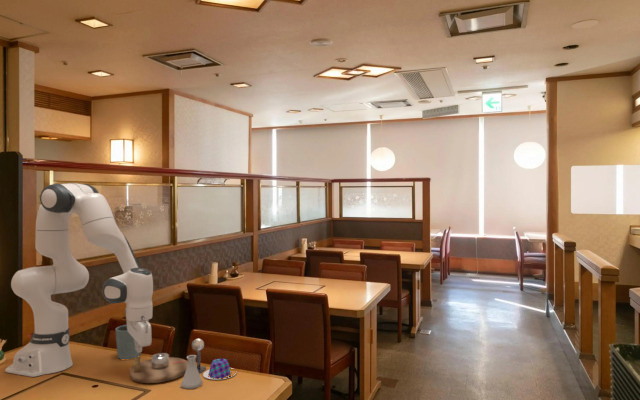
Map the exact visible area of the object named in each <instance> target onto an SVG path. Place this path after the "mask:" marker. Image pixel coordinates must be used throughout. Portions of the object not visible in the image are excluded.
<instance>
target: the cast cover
mask: <svg viewBox="0 0 640 400" xmlns="http://www.w3.org/2000/svg"><path fill="white" fill-rule="evenodd" d="M169 357H170V354H168V353H167V352H158V353H154V354H152V355H151V358H150V359H151V368H152V369H154V370H160V369H165V368H167V367H168V366H169Z"/></svg>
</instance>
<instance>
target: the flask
mask: <svg viewBox="0 0 640 400" xmlns="http://www.w3.org/2000/svg"><path fill="white" fill-rule="evenodd" d="M186 359H187V362H188V364H187V369H186V372H185V374H184V375H183V379H182V380H181V384H180V388H182V389H186V390H189V389H190V390H192V389H197V388H199V387H201V386H202V384H203V379H202V377H201V375H200V373H199V372H198V369H197V354H196V355H195V354H189V355H187V356H186Z"/></svg>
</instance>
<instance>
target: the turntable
mask: <svg viewBox="0 0 640 400" xmlns="http://www.w3.org/2000/svg"><path fill="white" fill-rule="evenodd" d="M187 364H188V360H186V359H184V358H180V357H173V356H172V357H171V356H169V366H168V367H167V368H165V369H160V370H154V369H152V368H151V358H149V359H146V360H143V361H141V357H140V356H139V357H135V358H134V359H133V365H132V367H130V369H129V377H130V379H131V380H132V381H134V382H137V383H143V384H145V383H146V384H154V383H163V382H168V381H172V380H175V379H177V378H181V377H182V376H184V375H185V372H186V369H187Z"/></svg>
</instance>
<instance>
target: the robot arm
mask: <svg viewBox="0 0 640 400" xmlns="http://www.w3.org/2000/svg"><path fill="white" fill-rule="evenodd" d="M39 201H40V205H39V207H38V209H37V214H36V220H35V241H34V242H35V250H36V252H37V253H38V254H39V255H41V256H44V257H46V258H49V259H52V263H53V264H52V265H43V266H42V265H41V266H32V267H26V268H23V269H20V270H17V271H16V272H15V273H14V275H13V276H12V278H11V281H10V288H11V290H12V291H13V293H14V295H16V296H18V297H19V298H22V299H23V300H25V302H27V304H28V305H29V306H30V308H31V310H32V312H33V320H34V331H33V332H32V333H29V334H27V338H28V339H29V338H30V341H29V342H28V343H27V344H26V345H25V346H23V347H22V348H21V349H19V350H18V351H17V352H15V354H14V357H13V362H12V364H10V365H9V366H7V367H6V368H5V373H7V374H8V373H10V374H14V375H20V376H25V377H30V378H34V377H35V378H36V377H39V376H43V375H49V374H53V373H58V372H61V371H64V370H67V369H70V368H71V367H72V366H73V365H74V363H73V359H72V355H71V351H70V343H69V342H70V327H69V310H68V308H67V306H66V305H64V304H62V303H59V302H56V301H52V295H57V294H58V295H59V294H64V293H72V292H76V291H79V290H82V289H84V288H85V287H86V286H87V285H88V283H89V279H90V272H89V271H88V268H86V267H87V266H85V265H83V264H82V263H81V262H79V261H78V260H77V259H76V258H75V257H74V255H73V254H72V250H71V245H70V217H71V216H72V215H73V214H74V213H75V214H77V216H78V217H79V220H80V223H81V227H82V230H83V235H84V236H85V238H86V239H87V241H88V242H89V243H90V244H92V245H94V246H95V247H100V248H103V249H106V250H108V251H109V252H112V253H113V254H114V255H115V257H116V259H117V260H118V263H119V265H120V268H121V269H122V272H123V273H122V274H119V275H116V276H113V277H110V278H107V279H106V280H105V281H104V282H103V284H102V289H101V290H102V291H101V292H102V293H101V294H102V296H103V298H104V299H105V301H106V302H108V303H109V304H120V303H125V305H126V307H125V309H124V314H125V318H126V319H125V320H126V325H127V330H128V332H129V334H130V335H131V336H132V337H133V338H134V343H135V350H136V351H137V353H139V352H140V353H142V352H143V348H144V347H148V346H149V347H150V346H151V345H152V325H151V323H150V322H149V321H150V320H151V319H152V318H153V305H154V304H153V300H152V298H153V294H154V277H153V274H152V272H151V271H150V270H149V269H147V268H144V267H141V266H140V264H139V262H138V260H137V258H136V255H135V253H134V251H133V249H132V247H131V244H130V242H129V241H128V239H127V237H126V236H125V235H124V234H123V232H122V231H121V230H120V228H119V227H118V224H117V223H116V219H115V216H114V214H113V212H112V211H113V210H112V209H111V207H110V205H109V203H108V200H107V199H106V197H105V195H103V194H101V193H99V191H98V189H97V188H96V187H94V186H93V185H90V184H86V183H75V182H70V183H69V182H68V183H52V184H49V185H47V186H44V188H42V190H41V192H40V195H39Z"/></svg>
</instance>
